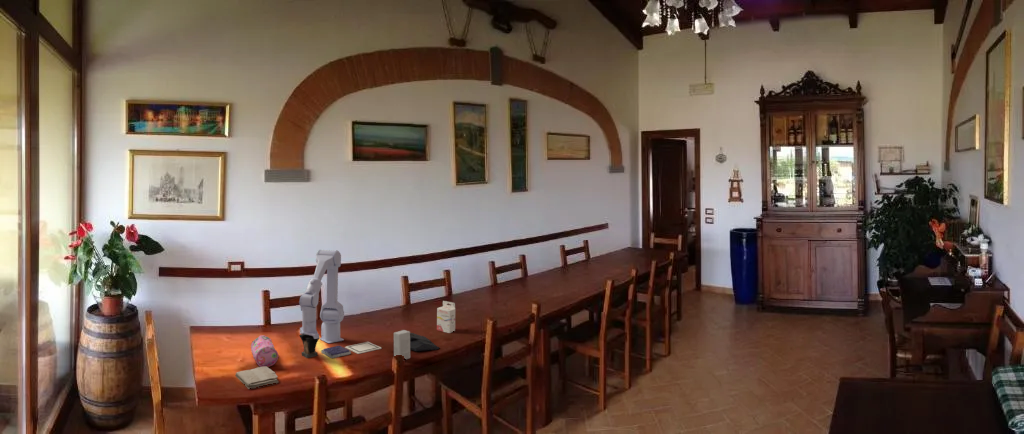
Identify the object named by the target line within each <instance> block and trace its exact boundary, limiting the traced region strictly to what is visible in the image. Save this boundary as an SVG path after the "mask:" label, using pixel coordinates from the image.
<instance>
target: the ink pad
mask: <svg viewBox="0 0 1024 434" xmlns="http://www.w3.org/2000/svg"><path fill="white" fill-rule="evenodd" d="M321 354H323V355H324V356H327V357H329V358H330V359H335V358H339V357H344V356H349V355H351V354H352V351H351V350H349V349H347V348H345V346H341V345H335V346H330V347H327V348H323V349H321Z"/></svg>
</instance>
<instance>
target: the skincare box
mask: <svg viewBox="0 0 1024 434" xmlns="http://www.w3.org/2000/svg"><path fill="white" fill-rule="evenodd" d="M410 333H411V331H410V330H406V329H401V330H399V331H395V332H393V357H394V356H396V355H402V356H404V358H405V359H406V360H409V359H411V349H410Z"/></svg>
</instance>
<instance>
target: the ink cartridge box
mask: <svg viewBox="0 0 1024 434" xmlns="http://www.w3.org/2000/svg"><path fill="white" fill-rule="evenodd" d="M436 331H439V332H443V333H446V334H451V333H453V331H454V332H456V303H455V302H452V301H447V300H442V306H440V307H437V308H436Z"/></svg>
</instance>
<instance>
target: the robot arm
mask: <svg viewBox="0 0 1024 434" xmlns="http://www.w3.org/2000/svg"><path fill="white" fill-rule="evenodd" d="M315 261H316V267H315V271H314V273H313V277H312V278H311V279H309V281H308V283H307V286H306V289H305V291H304V293H303V294H301V295H300V297H299V301H298V304H299V307H300V311H301V320H302V322H301V325H302V326H301V327H299V337H300V339H301V342H302V345H303V346H304V341H307V343H308V349H309V353H313V352H315V351H316V348H317V344H318V342H319V340H321V341H323V342H324V343H328V344H332V343H337V342H342V341H344V340H345V339H344V338H343V337H341V322H342V321H343V320H344V317H345V311H344V305H343V304H342V303H340V301H338V296H339V295H338V288H339V287H338V286H339V281H338V280H339V268H340V267H341V264H342V254H341V252H340V251H339V250H330V249H329V250H328V249H327V250H325V249H318V250H317V252H316V253H315ZM325 273H326V302H325V303H323V304H322V305H321V309H320V313H319V318H320V320H321V321H322V323H321V333H318V330H317V306H318V305H319V300H320V299H319V298H320V295H319V293H320V292H321V288H322V286H323V282H322V280H323V277H324V275H325ZM320 334H321V336H320Z"/></svg>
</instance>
